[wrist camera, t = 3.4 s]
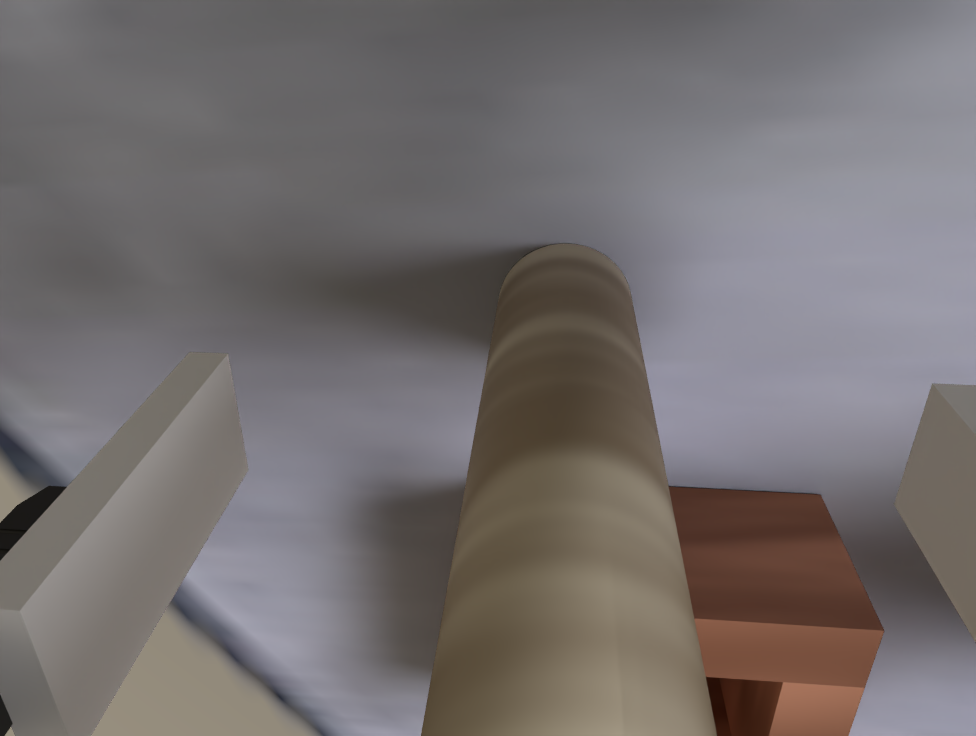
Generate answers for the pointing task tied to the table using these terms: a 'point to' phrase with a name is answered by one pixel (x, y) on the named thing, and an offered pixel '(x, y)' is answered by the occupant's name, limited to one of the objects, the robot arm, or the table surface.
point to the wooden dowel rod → (567, 529)
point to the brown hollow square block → (775, 611)
